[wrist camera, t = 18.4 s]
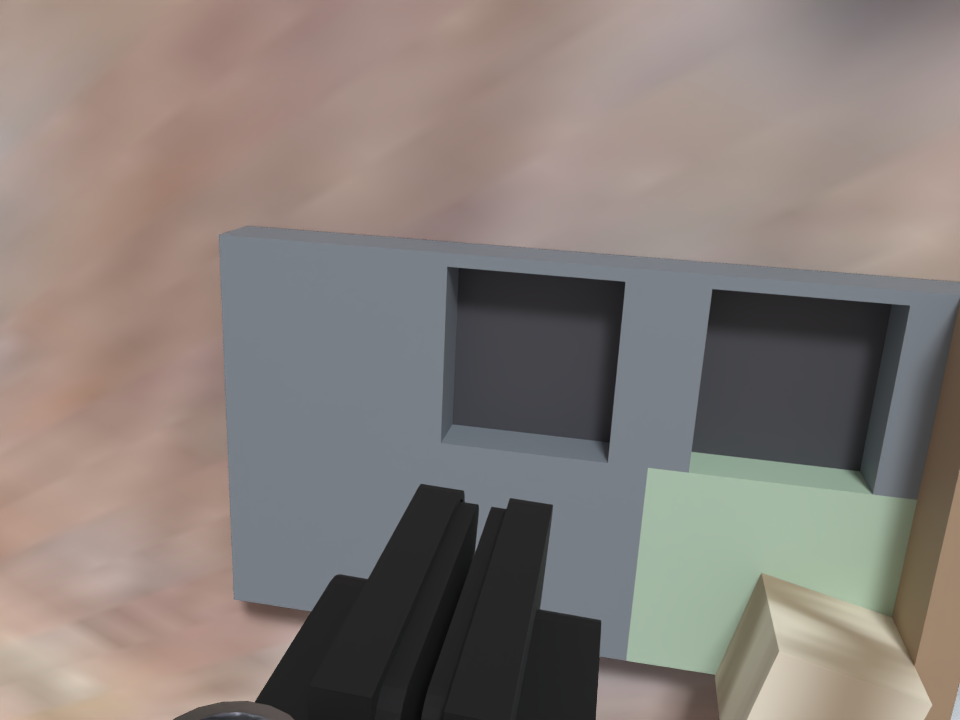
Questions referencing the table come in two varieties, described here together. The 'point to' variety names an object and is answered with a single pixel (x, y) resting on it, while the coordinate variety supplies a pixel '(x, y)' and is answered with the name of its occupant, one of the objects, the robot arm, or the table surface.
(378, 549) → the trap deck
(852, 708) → the block
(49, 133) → the table surface
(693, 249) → the table surface
